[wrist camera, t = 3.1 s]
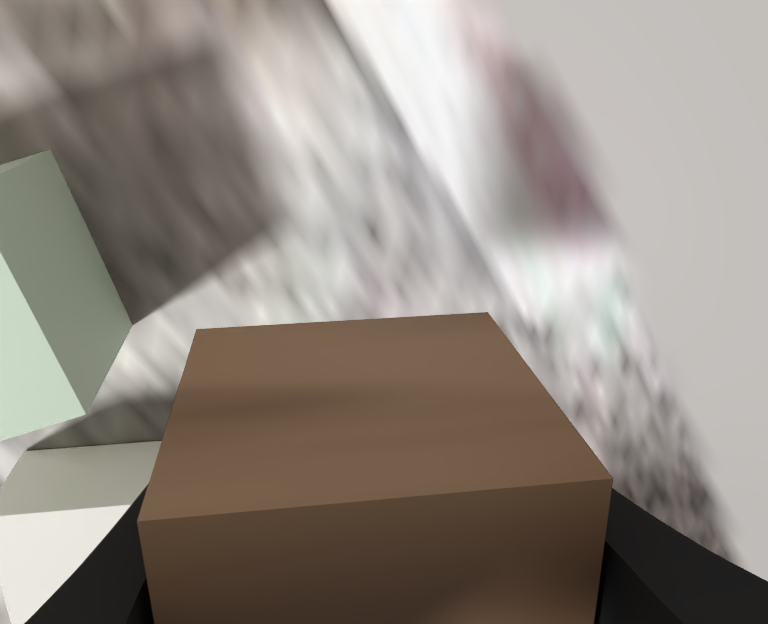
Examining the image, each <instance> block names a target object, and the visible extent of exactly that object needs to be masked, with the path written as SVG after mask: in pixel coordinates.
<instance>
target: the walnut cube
mask: <svg viewBox="0 0 768 624" xmlns="http://www.w3.org/2000/svg"><path fill="white" fill-rule="evenodd" d="M612 483H613V478H612V476H611V475H610V474H609V472H608V471H607V470H606V468H605V467H604V466H603V464H602V463H601V462H600V460H599V459H598V458H597V456H596V455H595V454H594V452H593V451H592V450H591V448H590V447H589V446H588V444H587V443H586V442H585V440H584V439H583V438H582V437H581V435H580V434H579V433H578V431H577V430H576V429H575V427H574V426H573V425H572V423H571V422H570V421H569V419H568V418H567V417H566V415H565V414H564V413H563V411H562V410H561V409H560V407H559V406H558V405H557V403H556V402H555V401H554V399H553V398H552V397H551V395H550V394H549V393H548V391H547V390H546V389H545V388H544V386H543V385H542V384H541V382H540V381H539V380H538V378H537V377H536V376H535V374H534V373H533V372H532V370H531V369H530V368H529V366H528V365H527V364H526V362H525V361H524V360H523V358H522V357H521V356H520V354H519V353H518V352H517V350H516V349H515V348H514V346H513V345H512V344H511V342H510V341H509V340H508V339H507V337H506V336H505V335H504V333H503V332H502V331H501V329H500V328H499V327H498V325H497V324H496V323H495V321H494V320H493V319H492V317H491V316H490V315H489V313H488V312H485V313H468V314H451V315H433V316H416V317H399V318H382V319H365V320H348V321H331V322H314V323H296V324H279V325H262V326H245V327H228V328H211V329H196V333H195V336H194V339H193V342H192V345H191V349H190V352H189V355H188V358H187V362H186V365H185V368H184V371H183V374H182V378H181V381H180V384H179V387H178V391H177V394H176V397H175V400H174V403H173V407H172V410H171V413H170V416H169V420H168V423H167V426H166V429H165V433H164V436H163V439H162V442H161V445H160V449H159V452H158V455H157V458H156V462H155V465H154V468H153V471H152V474H151V478H150V481H149V484H148V487H147V491H146V494H145V497H144V500H143V503H142V507H141V510H140V513H139V516H138V520H137V525H138V531H139V537H140V542H141V548H142V554H143V560H144V566H145V572H146V578H147V583H148V589H149V595H150V601H151V607H152V613H153V619H154V624H594V618H595V610H596V603H597V595H598V588H599V580H600V573H601V565H602V558H603V550H604V543H605V535H606V528H607V521H608V513H609V506H610V498H611V491H612Z"/></svg>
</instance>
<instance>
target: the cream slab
mask: <svg viewBox="0 0 768 624" xmlns="http://www.w3.org/2000/svg"><path fill="white" fill-rule="evenodd" d="M161 442H162V441H151V442H138V443H125V444H112V445H99V446H86V447H73V448H60V449H46V450H33V451H24V452H23V454H22V455H21V457H20V458H19V460H18V461H17V463H16V465H15V466H14V468H13V469H12V471H11V473H10V474H9V476H8V477H7V479H6V480H5V482H4V484H3V485H2V487H1V488H0V585H1V588H2V592H3V596H4V599H5V603H6V606H7V610H8V614H9V617H10V621H11V624H24V623H25V622H26V621H27V620H28V619H29V618H30V617H31V616H32V615H33V614H34V613H35V612H36V611H37V610H38V609H39V608H40V607H41V606H42V605H43V604H44V603H45V602H46V601H47V600H48V599H49V598H50V597H51V596H52V595H53V594H54V593H55V592H56V590H57V589H58V588H59V587H60V586H61V585H62V584H63V583H64V582H65V581H66V580H67V579H68V578H69V577H70V576H71V575H72V574H73V573H74V572H75V570H76V569H77V568H78V567H79V566H80V565H81V564H82V563H83V561H84V560H85V559H86V558H87V557H88V556H89V555H90V553H91V552H92V551H93V550H94V549H95V548H96V546H97V545H98V544H99V543H100V542H101V541H102V540H103V538H104V537H105V536H106V535H107V534H108V533H109V531H110V530H111V529H112V528H113V527H114V525H115V524H116V523H117V522H118V520H119V519H120V518H121V517H122V516H123V514H124V513H125V512H126V511H127V509H128V508H129V507H130V506H131V504H132V503H133V502H134V501H135V499H136V498H137V497H138V496H139V494H140V493H141V492H142V491H143V489H144V488H145V487H146V486H147V485H148V483H149V481H150V478H151V474H152V471H153V468H154V465H155V462H156V458H157V455H158V452H159V449H160V445H161Z"/></svg>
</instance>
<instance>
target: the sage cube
mask: <svg viewBox="0 0 768 624" xmlns="http://www.w3.org/2000/svg"><path fill="white" fill-rule="evenodd" d="M131 327H132V323H131V320H130V318H129V316H128V314H127V312H126V310H125V307H124V305H123V303H122V301H121V299H120V297H119V295H118V292H117V290H116V288H115V286H114V284H113V282H112V280H111V277H110V275H109V273H108V271H107V269H106V267H105V264H104V262H103V260H102V258H101V256H100V254H99V252H98V249H97V247H96V245H95V243H94V241H93V239H92V237H91V234H90V232H89V230H88V228H87V226H86V224H85V221H84V219H83V217H82V215H81V213H80V211H79V209H78V206H77V204H76V202H75V200H74V198H73V196H72V193H71V191H70V189H69V187H68V185H67V183H66V181H65V178H64V176H63V174H62V172H61V170H60V168H59V166H58V163H57V161H56V159H55V157H54V155H53V153H52V150H51V149H50V150H47V151H44V152H40V153H37V154H34V155H30V156H27V157H24V158H20V159H17V160H14V161H10V162H7V163H4V164H0V441H2V440H5V439H9V438H12V437H15V436H18V435H22V434H25V433H28V432H31V431H34V430H38V429H41V428H44V427H47V426H51V425H54V424H57V423H60V422H63V421H67V420H70V419H73V418H76V417H80V416H83V415H86V414H87V412H88V410H89V408H90V406H91V404H92V402H93V400H94V398H95V396H96V394H97V393H98V391H99V389H100V387H101V385H102V383H103V381H104V379H105V377H106V375H107V373H108V371H109V369H110V368H111V366H112V364H113V362H114V360H115V358H116V356H117V354H118V352H119V350H120V348H121V346H122V345H123V343H124V341H125V339H126V337H127V335H128V333H129V331H130V329H131Z"/></svg>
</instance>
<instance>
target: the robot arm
mask: <svg viewBox="0 0 768 624" xmlns="http://www.w3.org/2000/svg"><path fill="white" fill-rule="evenodd" d="M148 484H149V483H148ZM147 487H148V485H147V486H146V487H145V488H144V489H143V491H142V492H141V493H140V494H139V496H138V497H137V498H136V499H135V501H134V502H133V503H132V504H131V506H130V507H129V508H128V509H127V511H126V512H125V513H124V514H123V516H122V517H121V518H120V519H119V520H118V522H117V523H116V524H115V525H114V527H113V528H112V529H111V530H110V531H109V533H108V534H107V535H106V536H105V537H104V538H103V540H102V541H101V542H100V543H99V544H98V545H97V546H96V548H95V549H94V550H93V551H92V552H91V553H90V555H89V556H88V557H87V558H86V559H85V560H84V561H83V563H82V564H81V565H80V566H79V567H78V568H77V569H76V570H75V572H74V573H73V574H72V575H71V576H70V577H69V578H68V579H67V580H66V581H65V582H64V583H63V584H62V585H61V586H60V587H59V588H58V589H57V590H56V592H55V593H54V594H53V595H52V596H51V597H50V598H49V599H48V600H47V601H46V602H45V603H44V604H43V605H42V606H41V607H40V608H39V609H38V610H37V611H36V612H35V613H34V614H33V615H32V616H31V617H30V618H29V619H28V620H27V621H26V622H25V623H24V624H154V619H153V613H152V607H151V601H150V595H149V589H148V583H147V578H146V572H145V566H144V560H143V554H142V548H141V542H140V537H139V531H138V525H137V520H138V516H139V513H140V510H141V507H142V503H143V500H144V497H145V494H146V491H147ZM594 624H768V582H767V581H766V580H764V579H762V578H760V577H758V576H756V575H754V574H752V573H750V572H748V571H746V570H744V569H743V568H741V567H739V566H737V565H735V564H733V563H731V562H729V561H727V560H725V559H724V558H722V557H720V556H718V555H716V554H715V553H713V552H711V551H709V550H708V549H706V548H704V547H702V546H701V545H699V544H697V543H696V542H694V541H693V540H691V539H689V538H688V537H686V536H684V535H683V534H681V533H679V532H678V531H676V530H674V529H673V528H671V527H670V526H668V525H666V524H665V523H663V522H662V521H660V520H659V519H657V518H655V517H654V516H652V515H651V514H649V513H648V512H646V511H645V510H643V509H642V508H640V507H639V506H637V505H636V504H634V503H633V502H631V501H630V500H628V499H627V498H626V497H624V496H623V495H621V494H620V493H618V492H617V491H615V490H614V489H613V488H612V491H611V498H610V506H609V513H608V521H607V528H606V535H605V543H604V550H603V558H602V565H601V573H600V580H599V588H598V595H597V603H596V610H595V618H594Z"/></svg>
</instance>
